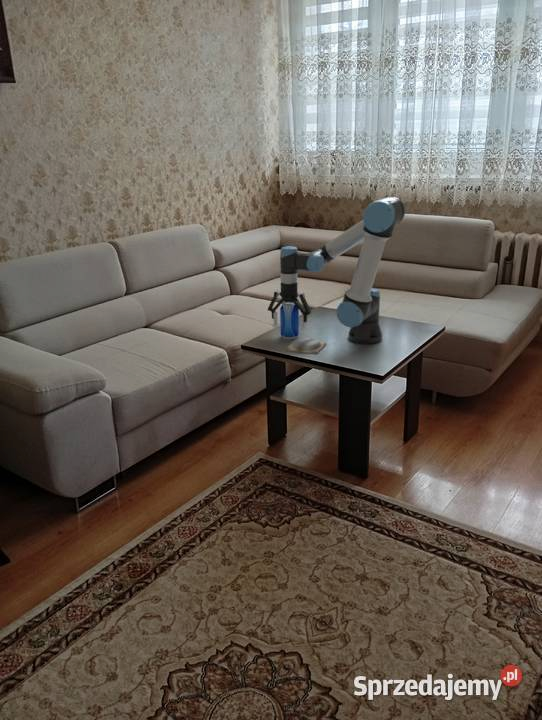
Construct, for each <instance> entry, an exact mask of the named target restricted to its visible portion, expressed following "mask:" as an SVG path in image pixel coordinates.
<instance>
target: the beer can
mask: <svg viewBox="0 0 542 720" xmlns="http://www.w3.org/2000/svg"><path fill="white" fill-rule="evenodd" d="M279 308H280V309H279V315H280V317H279V321H280V336H281V337H282V339H284V340H288V341H289V340H296V339H298V336H299V335H300V310H299V309H298V307H297V306H296V305H295V304H294V303H293V302H292V303H289V302H285V301H283V303H282V304H281V305H280V307H279Z"/></svg>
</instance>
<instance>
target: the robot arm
mask: <svg viewBox="0 0 542 720" xmlns="http://www.w3.org/2000/svg"><path fill="white" fill-rule="evenodd" d="M405 215H406V207H405V204H404V202H403V200H401V199H400V198H398V197H396V196H386V197H384V198H381V199H376V200H374V201H371V203H369V205H367V206H366V208H365V209H364V211H363V216H362V220H361V221H358V222H357V223H356V224H354V225H352V226H351V227H350V228H348V229H346V230H345V231H344V232H342V233H341V234H339V235H338V236H336V237H335V238H333V239H332V240H330V241H328V242H327V243H326V244H324V245H322V246H321V247H320V248H318V249H316V250H313V251H310V252H307V253H306V252H299V251H298V248H297V247H296V246H293V245H289V246H288V245H287V246H282V247H281V248H280V253H279V254H280V255H279V261H280V262H279V263H280V291H279V290H275V291H274V292H273V297H272V299H271V300H270V303H269V305H268V308H267V311H270V313H271V319H272V320H273V327H276V326H278V311H277V310H278V309H279V308H280V307H281V306H282V303H283V302H289V303H292V302H293V303H294V304H295V305H296V306H297V307H298V309H299V312H300V313H301V314H302V315H301V330H305V329H306V323H307V322H308V316H310V314H311V313H312V309H311V308H310V306H309V304H308V302H307V300H306V296H305V293H304V292H302V293H299V292H298V289H299V288H298V271H305V272H311V273H320V272H322V270H323V269H324V266H325V265H328V264H330V263H331V262H332V261H333V260H335V259H336V258H338V257H339V256H341V255H343V254H344V253H346V252H348V251H349V250H351V249H352V248H354V247H355V246H358V245H359V244H360V243H362V245H361V249H360V252H359V256H358V260H357V262H356V263H357V264H356V266H355V269H354V274H353V277H352V280H351V284H350V287H349V288H348V289H346V290H345V291H344V295H343V299H342V302H340V303H339V304H338V305H337V308H336V313H335V314H336V317H337V319H338V322H340V324H341V325H343V326H345V327H346V328H349V331H348V335H347V336H348V337H347V338H348V340H349V341H350V342H351V343H356V344H364V345H366V344H367V345H368V344H371V345H372V344H376V343H380V342H381V341H382V340H383V331H382V329H381V325H380V307H381V306H380V305H381V303H380V302H381V292H380V291H379V289H376V288H373V285H374V282H375V278H376V276H377V273H378V268H379V265H380V263H381V259H382V255H383V254H384V253H383V252H384V249H385V245H386V244H387V243H386V242H387V240H389V239H391V238H392V236H393V234H394V233H393V232H394V230H395V227H396V226H397V225H398V224H399V223H400V222H402V221H403V220H404V217H405ZM279 296H280V297H281V299H279V301H278V302H277V303H276V301H277V299H278V297H279ZM299 299H300V300H299ZM275 303H276V305H275Z"/></svg>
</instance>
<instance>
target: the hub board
mask: <svg viewBox="0 0 542 720" xmlns="http://www.w3.org/2000/svg"><path fill="white" fill-rule="evenodd" d="M326 346H327V342H324V341H321V340H319V339H316V338H309V337H306V338H305V337H304V338H303V337H301V338H296V339H294V340H293V342H292V343H290V345H289V346H287V347H286V351H292V352H298V353H299V352H300V353H306V354H307V353H308V354H316V355H318V354H319V353H320V352H321V351H322V350H323V349H324V348H325V347H326Z"/></svg>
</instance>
